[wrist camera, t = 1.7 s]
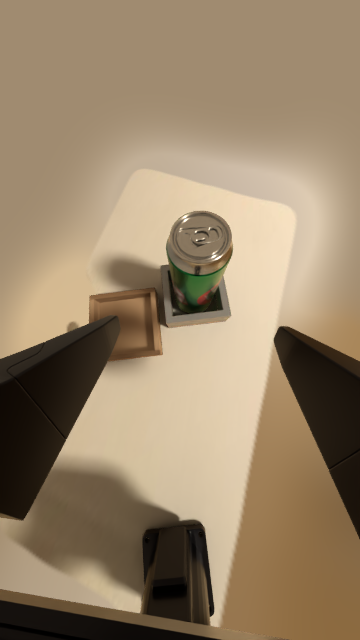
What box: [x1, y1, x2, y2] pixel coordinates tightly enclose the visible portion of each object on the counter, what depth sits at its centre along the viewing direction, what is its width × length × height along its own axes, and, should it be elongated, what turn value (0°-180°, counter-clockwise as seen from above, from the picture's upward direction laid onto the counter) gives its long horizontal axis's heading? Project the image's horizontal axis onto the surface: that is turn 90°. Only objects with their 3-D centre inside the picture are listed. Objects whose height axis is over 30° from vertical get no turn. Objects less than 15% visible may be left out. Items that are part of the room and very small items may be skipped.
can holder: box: [161, 265, 231, 328], centre depth 21 cm, size 8×8×3 cm
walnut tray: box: [89, 288, 163, 361], centre depth 21 cm, size 9×9×2 cm
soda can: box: [166, 211, 233, 314], centre depth 17 cm, size 5×5×12 cm
